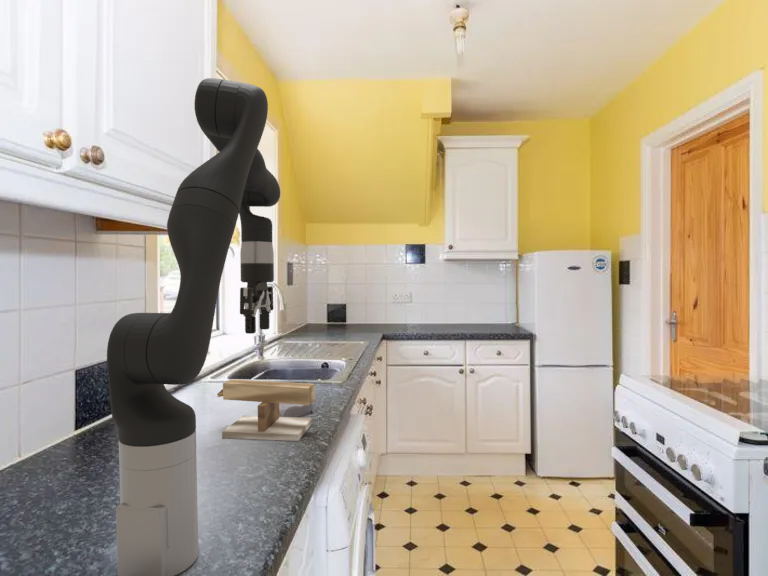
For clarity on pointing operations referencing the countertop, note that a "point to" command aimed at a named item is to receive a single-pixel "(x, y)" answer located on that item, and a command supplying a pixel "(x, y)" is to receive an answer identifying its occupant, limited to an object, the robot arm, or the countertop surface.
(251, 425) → the stand
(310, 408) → the stone block
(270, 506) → the countertop surface
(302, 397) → the oak batten
